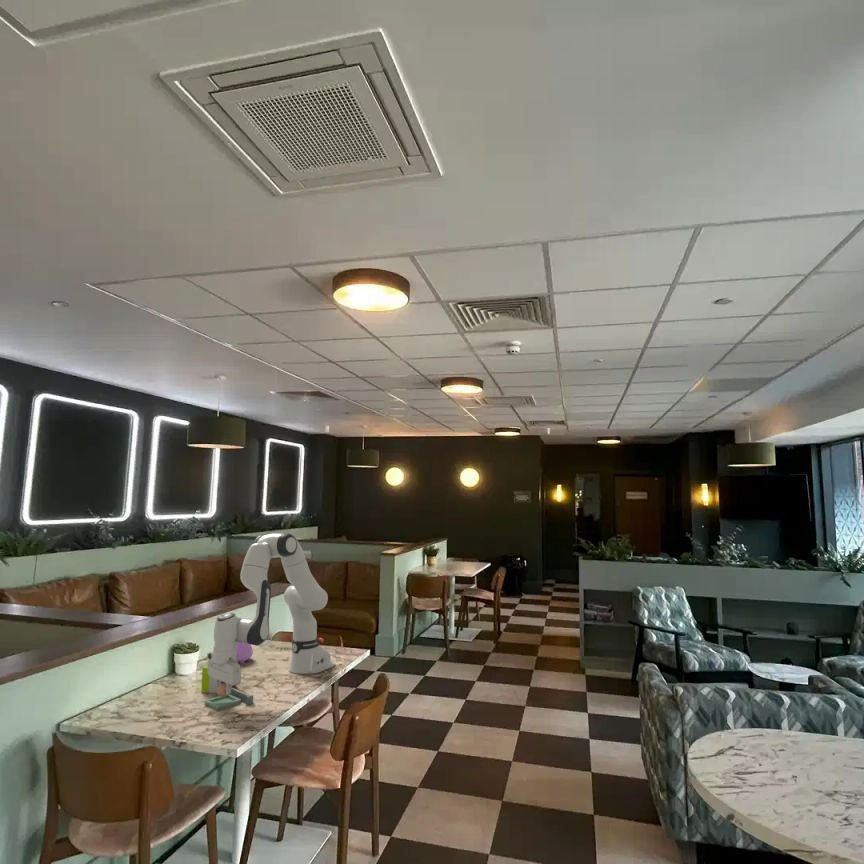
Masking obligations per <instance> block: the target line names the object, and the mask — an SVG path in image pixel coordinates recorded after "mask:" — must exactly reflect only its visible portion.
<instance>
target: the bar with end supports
mask: <svg viewBox="0 0 864 864" xmlns="http://www.w3.org/2000/svg"><path fill="white" fill-rule="evenodd" d="M230 695H232V696H234V697H237V698H239V699H241V702H242V703H245V704H246V705H247V706H248V705H251V704H254V695H253V694H248V693H245V692H244V691H241V690H240V689H239V690H238V689H236V688H235V687H233V688H231V693H230Z"/></svg>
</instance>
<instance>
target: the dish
mask: <svg viewBox="0 0 864 864" xmlns="http://www.w3.org/2000/svg"><path fill="white" fill-rule="evenodd" d="M241 704H242V701H241V699H239V698H237V697H234V696H232V695H230V694H228V695H226V696H224V697H221V696H219V695H218V696H216V697H212V698H209V699H205V700H204V705H205V706H207V707H209V708H211V709H213V710H215V711H221V710H224V709H228V708H230V707H231V708H232V707H233V706H237V705H241Z"/></svg>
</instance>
